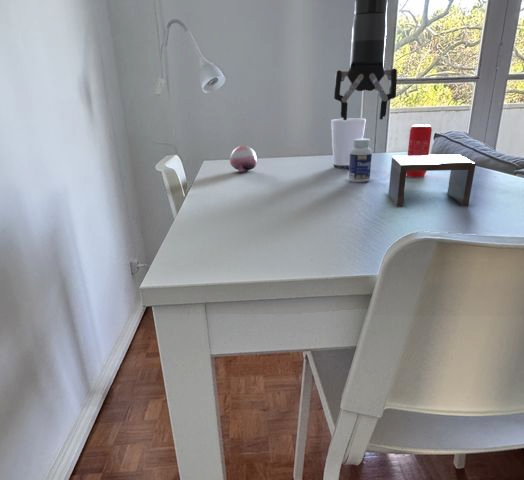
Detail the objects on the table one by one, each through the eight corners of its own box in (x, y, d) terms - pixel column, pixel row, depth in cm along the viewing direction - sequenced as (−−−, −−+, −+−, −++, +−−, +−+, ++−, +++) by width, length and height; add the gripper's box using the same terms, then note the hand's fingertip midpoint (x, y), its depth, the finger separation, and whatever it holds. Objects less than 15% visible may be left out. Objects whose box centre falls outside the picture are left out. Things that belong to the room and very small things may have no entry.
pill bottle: (356, 183, 118) (358, 141, 113) (344, 180, 122) (346, 139, 117) (374, 181, 119) (377, 139, 115) (361, 177, 124) (364, 137, 119)
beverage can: (402, 176, 123) (407, 126, 117) (409, 173, 127) (414, 124, 121) (421, 178, 120) (428, 126, 114) (428, 175, 124) (435, 124, 118)
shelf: (452, 193, 104) (459, 153, 100) (468, 205, 94) (476, 162, 90) (388, 194, 105) (392, 155, 101) (396, 206, 95) (401, 163, 91)
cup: (369, 166, 140) (372, 118, 133) (350, 170, 134) (353, 121, 127) (341, 163, 146) (343, 117, 139) (322, 167, 140) (323, 120, 133)
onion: (260, 169, 141) (259, 143, 137) (253, 174, 134) (252, 147, 131) (234, 169, 142) (233, 144, 139) (227, 174, 136) (225, 147, 132)
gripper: (337, 39, 103) (333, 121, 111) (403, 36, 102) (395, 120, 110) (335, 41, 109) (332, 119, 117) (398, 39, 108) (390, 117, 116)
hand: (362, 119), depth 114 cm, fingers open, 8 cm apart
